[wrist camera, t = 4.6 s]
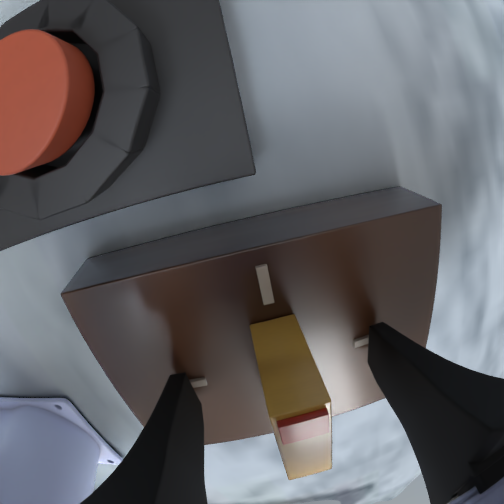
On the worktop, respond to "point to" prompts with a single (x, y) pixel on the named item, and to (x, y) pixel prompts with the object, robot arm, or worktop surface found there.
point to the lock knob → (294, 396)
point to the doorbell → (134, 112)
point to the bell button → (41, 99)
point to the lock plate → (261, 302)
